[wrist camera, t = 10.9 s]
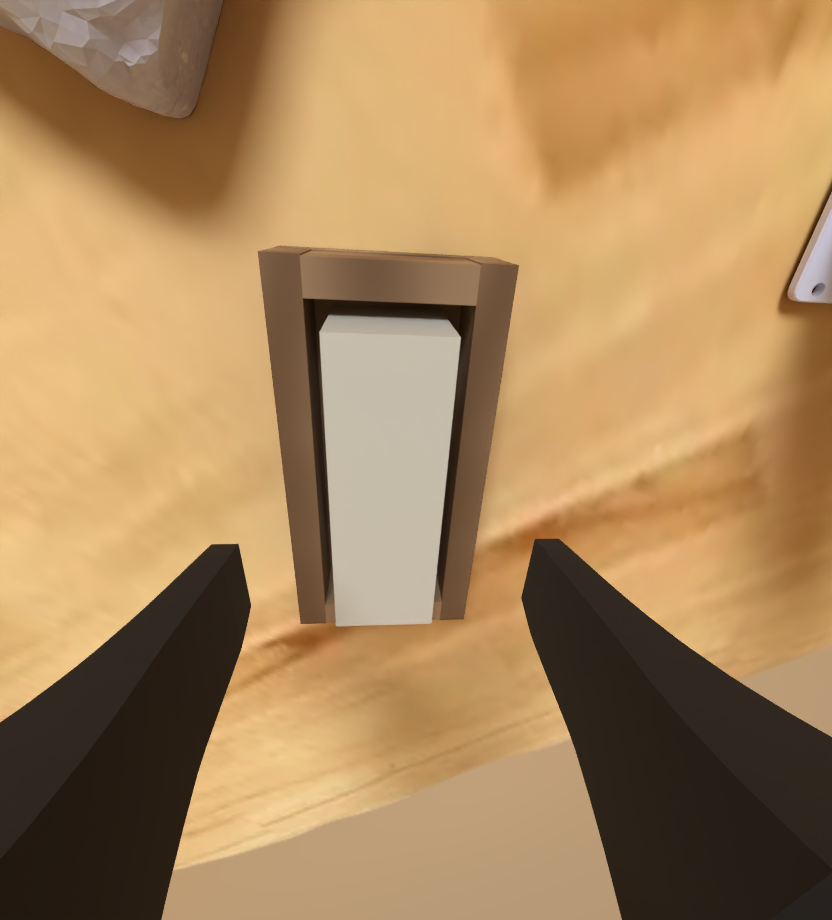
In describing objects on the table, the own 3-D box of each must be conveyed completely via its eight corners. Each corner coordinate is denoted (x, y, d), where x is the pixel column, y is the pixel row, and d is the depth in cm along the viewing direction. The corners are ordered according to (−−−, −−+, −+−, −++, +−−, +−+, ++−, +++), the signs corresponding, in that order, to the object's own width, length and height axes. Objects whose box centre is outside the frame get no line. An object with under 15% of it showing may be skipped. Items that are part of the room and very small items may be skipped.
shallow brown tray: (493, 257, 16) (520, 265, 13) (453, 568, 24) (464, 619, 21) (280, 245, 15) (256, 251, 12) (310, 571, 23) (299, 623, 20)
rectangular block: (440, 309, 16) (460, 337, 12) (421, 551, 22) (431, 623, 18) (333, 305, 16) (319, 332, 12) (343, 552, 21) (335, 626, 18)
